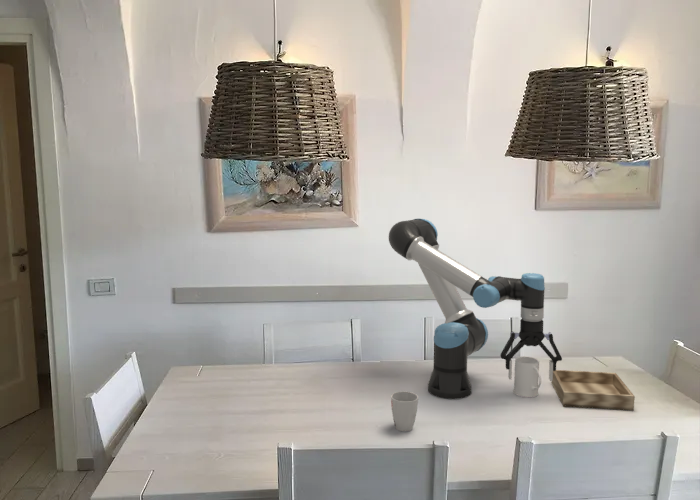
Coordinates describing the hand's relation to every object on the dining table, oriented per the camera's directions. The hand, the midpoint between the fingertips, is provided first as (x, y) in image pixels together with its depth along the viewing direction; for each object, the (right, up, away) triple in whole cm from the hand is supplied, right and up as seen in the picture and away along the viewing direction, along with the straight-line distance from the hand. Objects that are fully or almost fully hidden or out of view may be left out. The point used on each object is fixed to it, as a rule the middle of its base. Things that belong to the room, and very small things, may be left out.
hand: (530, 379), depth 209 cm
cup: (-46, -10, -25) cm, 53 cm away
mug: (0, -6, +1) cm, 6 cm away
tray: (+21, -6, 0) cm, 22 cm away
